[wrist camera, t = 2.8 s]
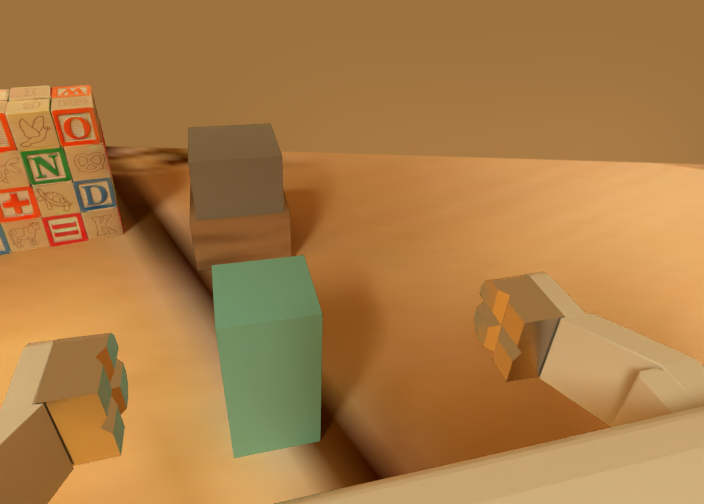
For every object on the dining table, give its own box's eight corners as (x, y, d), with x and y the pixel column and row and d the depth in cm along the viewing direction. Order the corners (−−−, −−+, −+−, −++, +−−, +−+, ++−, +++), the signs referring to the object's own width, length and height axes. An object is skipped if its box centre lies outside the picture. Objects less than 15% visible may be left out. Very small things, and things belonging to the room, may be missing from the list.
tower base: (291, 262, 45) (290, 213, 42) (197, 272, 43) (189, 222, 40) (279, 216, 51) (277, 171, 48) (197, 223, 50) (190, 177, 47)
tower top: (284, 211, 42) (282, 156, 39) (196, 219, 41) (188, 162, 38) (272, 174, 48) (270, 123, 45) (195, 180, 46) (188, 127, 43)
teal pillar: (320, 440, 30) (322, 314, 24) (234, 457, 29) (215, 329, 23) (305, 377, 34) (304, 255, 28) (228, 389, 33) (211, 265, 27)
